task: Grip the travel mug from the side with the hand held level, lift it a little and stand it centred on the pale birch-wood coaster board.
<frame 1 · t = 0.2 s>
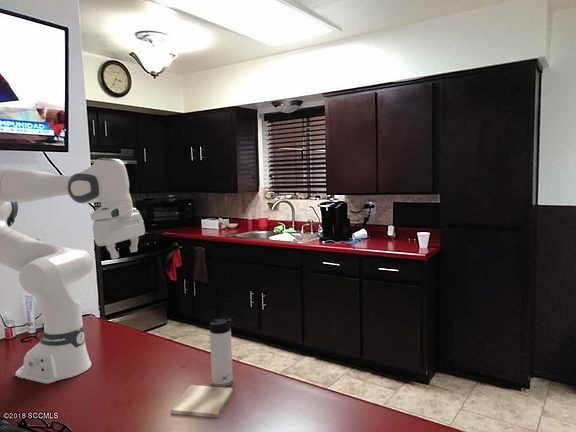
hand: (125, 254, 129), 39 cm above the worktop, tool pointing down, fingers open, 8 cm apart
coaster board: (203, 401, 117), on the worktop
travel mug: (223, 383, 128), on the worktop
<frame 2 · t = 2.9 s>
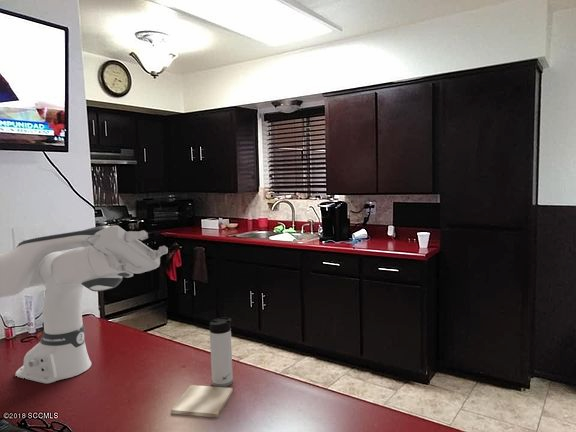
hand: (156, 241, 107), 47 cm above the worktop, tool pointing upward, fingers open, 8 cm apart
nothing on the worktop moved.
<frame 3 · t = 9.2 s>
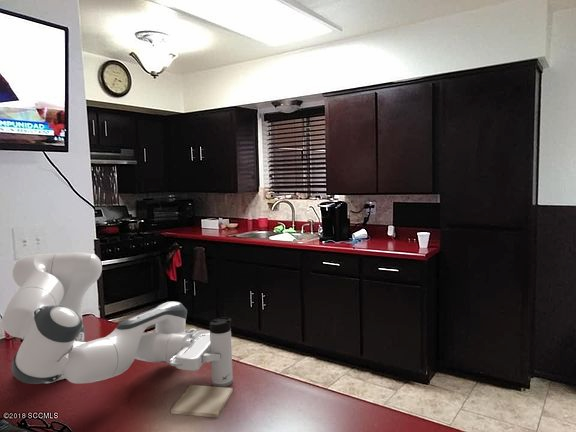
hand: (224, 351, 126), 10 cm above the worktop, tool horizontal, fingers closed on travel mug, 6 cm apart
travel mug: (223, 383, 128), on the worktop, touching gripper
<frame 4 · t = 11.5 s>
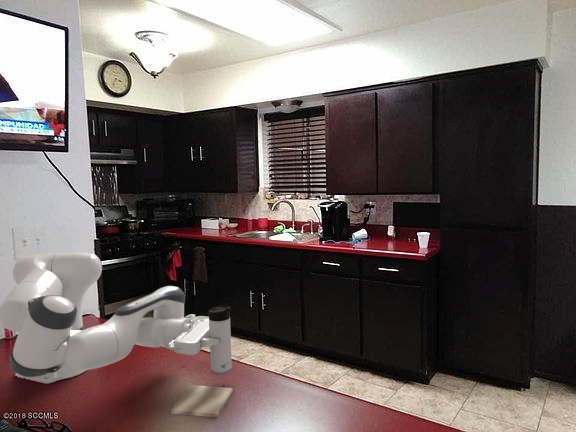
hand: (223, 336, 126), 15 cm above the worktop, tool horizontal, fingers closed on travel mug, 6 cm apart
travel mug: (222, 371, 127), point 4 cm above the worktop, touching gripper
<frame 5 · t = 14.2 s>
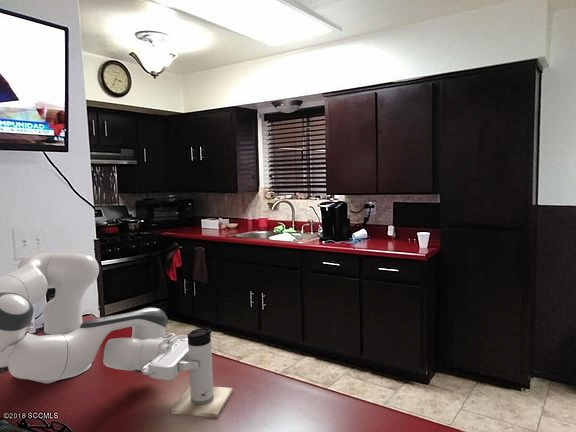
hand: (204, 358, 115), 13 cm above the worktop, tool horizontal, fingers closed on travel mug, 6 cm apart
travel mug: (202, 399, 117), point 1 cm above the worktop, touching coaster board, gripper
when the fingers open (12 cm above the worktop, at t = 15.4 s): travel mug stays where it is, resting on coaster board.
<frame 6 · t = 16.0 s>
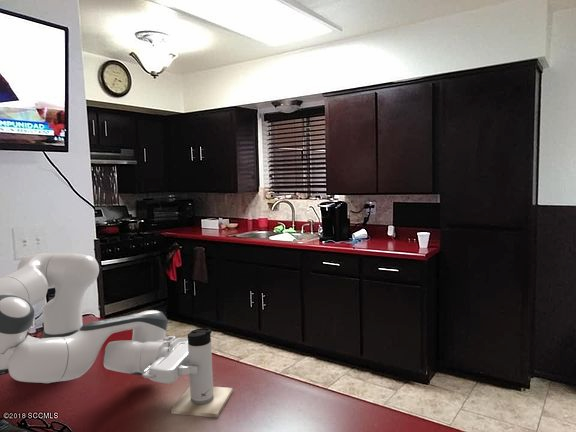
hand: (204, 361, 116), 12 cm above the worktop, tool horizontal, fingers open, 8 cm apart
travel mug: (202, 399, 117), point 1 cm above the worktop, touching coaster board
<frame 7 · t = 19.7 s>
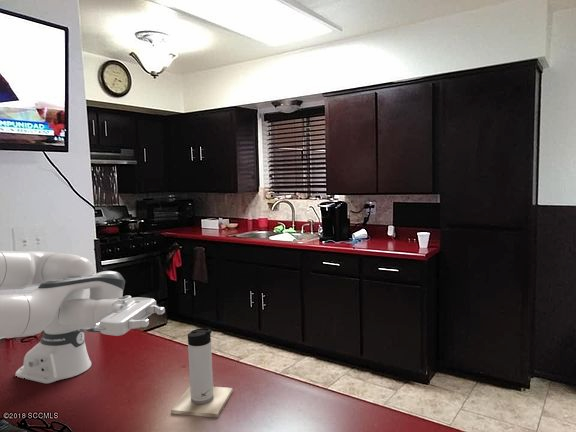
hand: (156, 316, 119), 23 cm above the worktop, tool horizontal, fingers open, 8 cm apart
nothing on the worktop moved.
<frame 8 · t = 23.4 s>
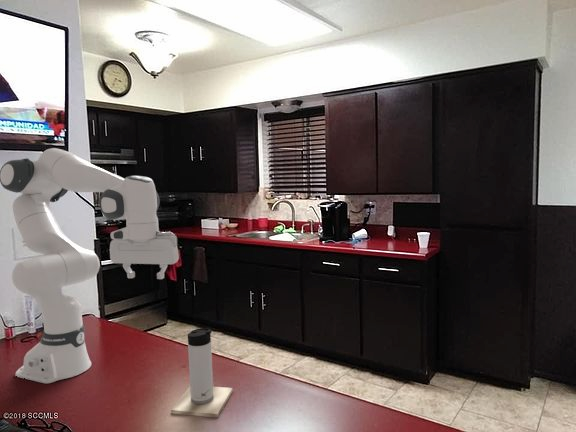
hand: (145, 278, 124), 33 cm above the worktop, tool pointing down, fingers open, 8 cm apart
nothing on the worktop moved.
at the end: travel mug 0.2 cm from the coaster board (horizontally); travel mug tilted 0°; travel mug touching coaster board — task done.
